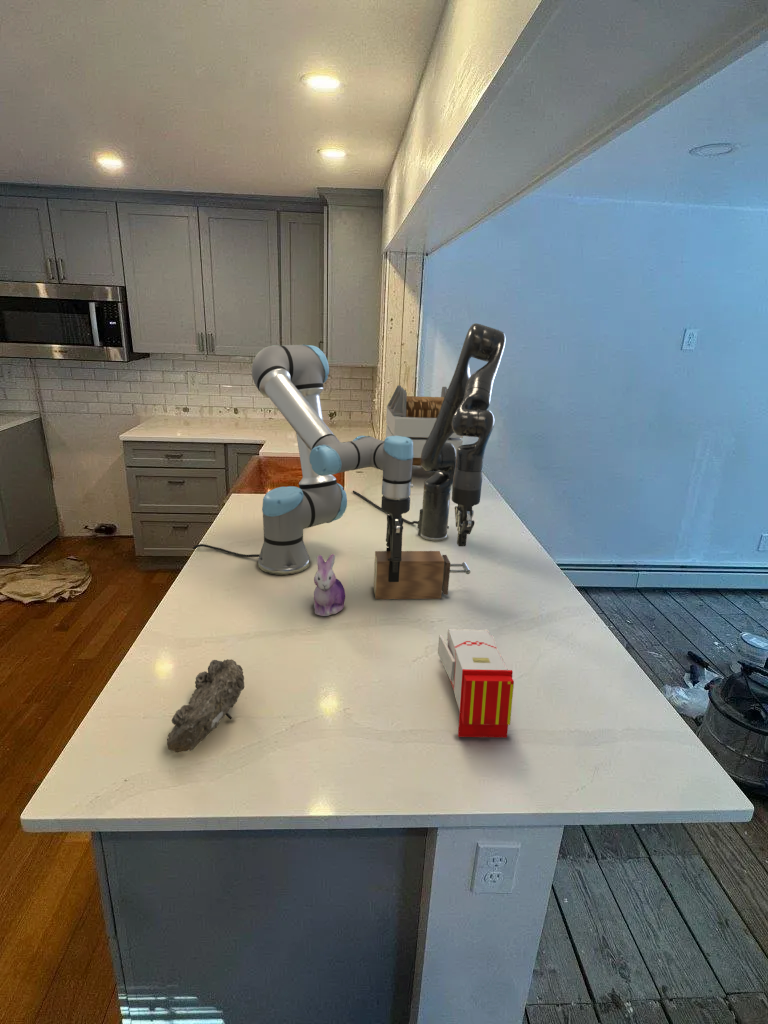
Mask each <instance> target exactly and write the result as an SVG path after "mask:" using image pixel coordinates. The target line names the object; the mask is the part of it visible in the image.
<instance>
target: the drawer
mask: <svg viewBox="0 0 768 1024" xmlns="http://www.w3.org/2000/svg"><path fill="white" fill-rule="evenodd" d="M441 555H442V557H443V559H444V571H443V583H442V594H443V596H444V595H448V594H449V584H450V576H451V575H450V574H457V573H459V574H461V573H462V574H464V573H465V575H470V574H471V570H470V568H469V566H468V564H467V563H466V562H465V561H464V562H461V563H451V562H450V559H449V557H448V555H447V554H441ZM452 567H453V568H455V567H457V568H458V567H460V568H461V567H462V569H451V568H452Z"/></svg>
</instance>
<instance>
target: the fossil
mask: <svg viewBox="0 0 768 1024" xmlns="http://www.w3.org/2000/svg"><path fill="white" fill-rule="evenodd" d="M243 670H244V669H243V667H242V665H240V664H237V662H236V661H235V660H234V659H232V658H231V659H227V658H226V659H224V660H223V661H222V660H217V659H212V660H211V661H210V663H209V665H208V666H207V671H201V672H199V673H198V674H197V675H196V676H195V680H194V684H195V685H194V687H195V689H194V690H193V693H192V694H191V697H190V698H189V700H188V704H184V705H182V706H181V707H180V709H177V710H176V711H175V713H174V715H173V716H172V718H171V723H172V724H173V727H172V730H171V731H170V732H168V734H167V738H166V741H167V742H166V745H167V749H168V750H169V751H173V752H174V753H176V754H178V753H182V752H188V751H189V752H192V751H193V750H195V748H196V747H197V746H199V744H200V743H201V742H203V741H204V740H205V739H206V738H207V737H208V736H209V735H210V734H211V733H212V732H214V730H215V729H217V727H218V726H219V724H220V722H221V721H222V720H223V719H224V718H225V716H226V717H227V719H229V720H233V717H232V715H230V714H229V710H230V709H231V708H234V706H235V704H236V703H237V702H238V699H239V697H240V695H241V693H242V691H243V690H245V689H244V688H245V675H244V671H243Z"/></svg>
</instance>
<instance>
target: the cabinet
mask: <svg viewBox="0 0 768 1024" xmlns="http://www.w3.org/2000/svg"><path fill="white" fill-rule="evenodd" d="M442 555H443V554H442V553H441V551H440V550H402V553H401V558H402V560H401V561H400V569H399V582H389V581H388V580H389V561H388V558H390V557H391V551H386V550H375V551H374V564H373V567H374V569H373V593H374V597H375V600H425V599H427V600H430V599H431V600H433V599H434V600H435V599H440V600H441V599H442V594H443V592H442V583H443V571H444V559H443V557H442Z"/></svg>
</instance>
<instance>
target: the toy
mask: <svg viewBox="0 0 768 1024" xmlns="http://www.w3.org/2000/svg"><path fill="white" fill-rule="evenodd" d="M446 640H447V643H446V641H445V639H444V636H443V635H442V634H439V637H438V646H437V656H438V657H439V659H440V661H441V663H442V666H443V668H444V670H445V672H446V674H447V677H448V679H449V681H450V684H451V687H452V690H453V693H454V697H455V701H456V705H457V708H458V711H459V714H458V715H459V716H458V730H457V731H458V732H457V737H458V738H508V731H509V726H510V725H511V717H512V707H513V697H514V696H513V695H514V684H515V680H514V679H513V673H514V671H513V670H512V669H508V667H507V665H506V662H505V661H504V659H503V658H502V655H501V653H500V651H499V649H498V647H497V643H496V639H495V637H494V635H493V634H491V632H490V631H489V629H467V628H466V629H465V628H463V629H461V628H460V629H459V628H448V630H447V639H446Z"/></svg>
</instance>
